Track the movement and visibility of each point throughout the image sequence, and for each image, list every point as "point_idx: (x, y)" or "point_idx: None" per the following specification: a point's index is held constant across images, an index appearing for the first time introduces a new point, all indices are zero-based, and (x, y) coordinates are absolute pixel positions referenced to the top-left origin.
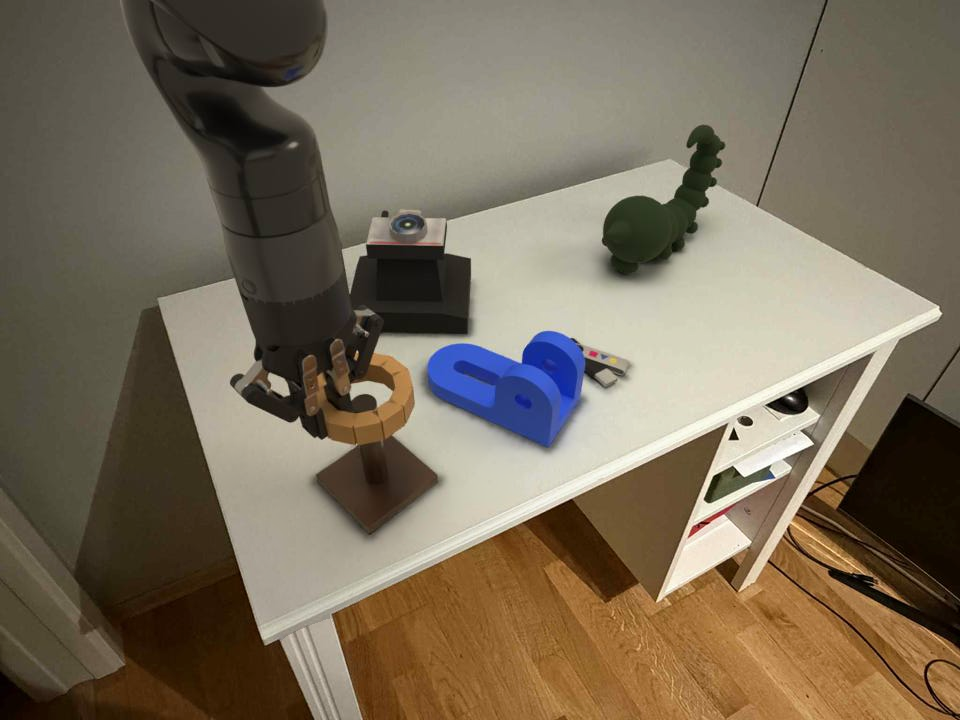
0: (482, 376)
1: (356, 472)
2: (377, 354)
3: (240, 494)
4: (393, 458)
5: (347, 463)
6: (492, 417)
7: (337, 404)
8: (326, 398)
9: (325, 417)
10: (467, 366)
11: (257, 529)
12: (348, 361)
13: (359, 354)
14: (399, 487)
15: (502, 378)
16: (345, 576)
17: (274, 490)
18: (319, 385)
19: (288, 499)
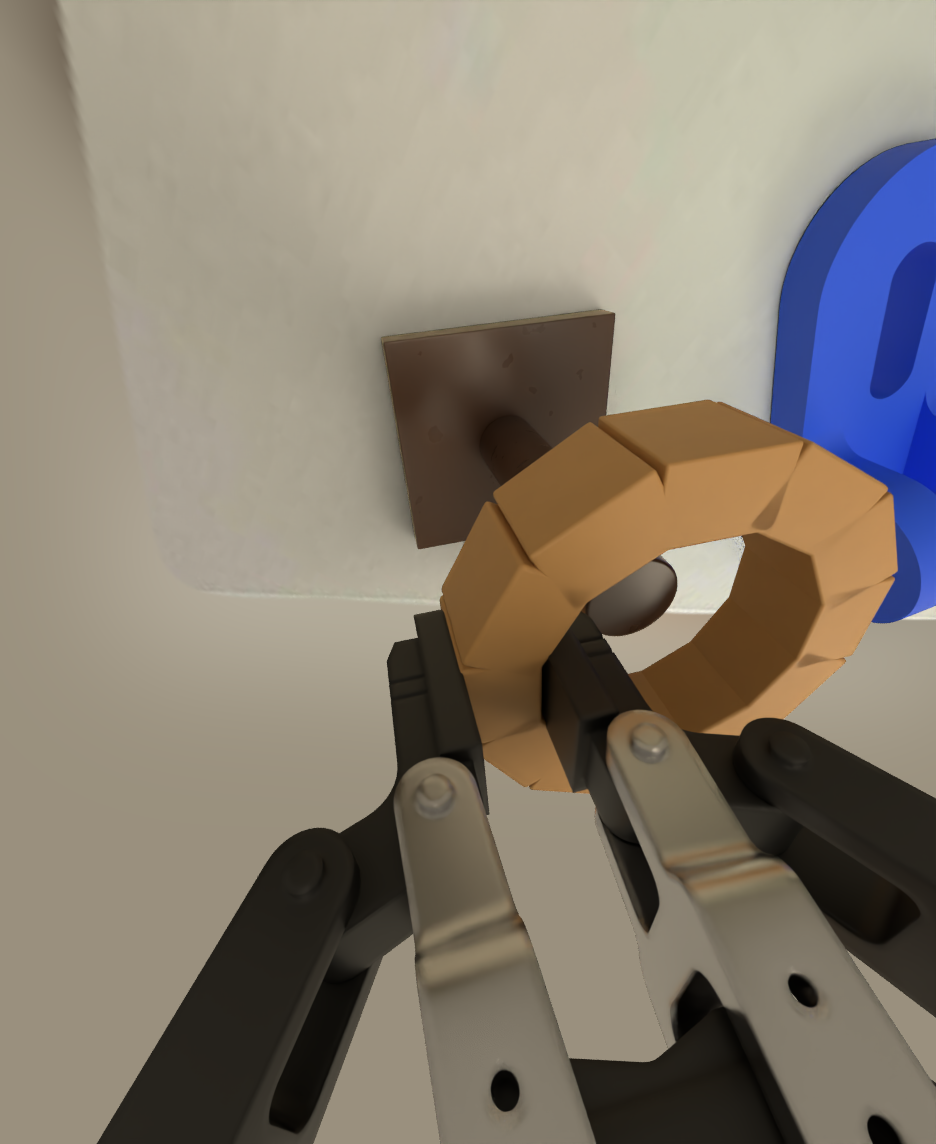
0: (893, 318)
1: (474, 407)
2: (888, 539)
3: (143, 211)
4: (564, 426)
5: (472, 366)
6: None
7: (555, 738)
8: (547, 656)
9: (482, 735)
10: (919, 265)
11: (180, 379)
12: (784, 830)
13: (857, 942)
14: None
15: (903, 534)
16: (335, 581)
17: (257, 278)
18: (576, 578)
19: (287, 340)
